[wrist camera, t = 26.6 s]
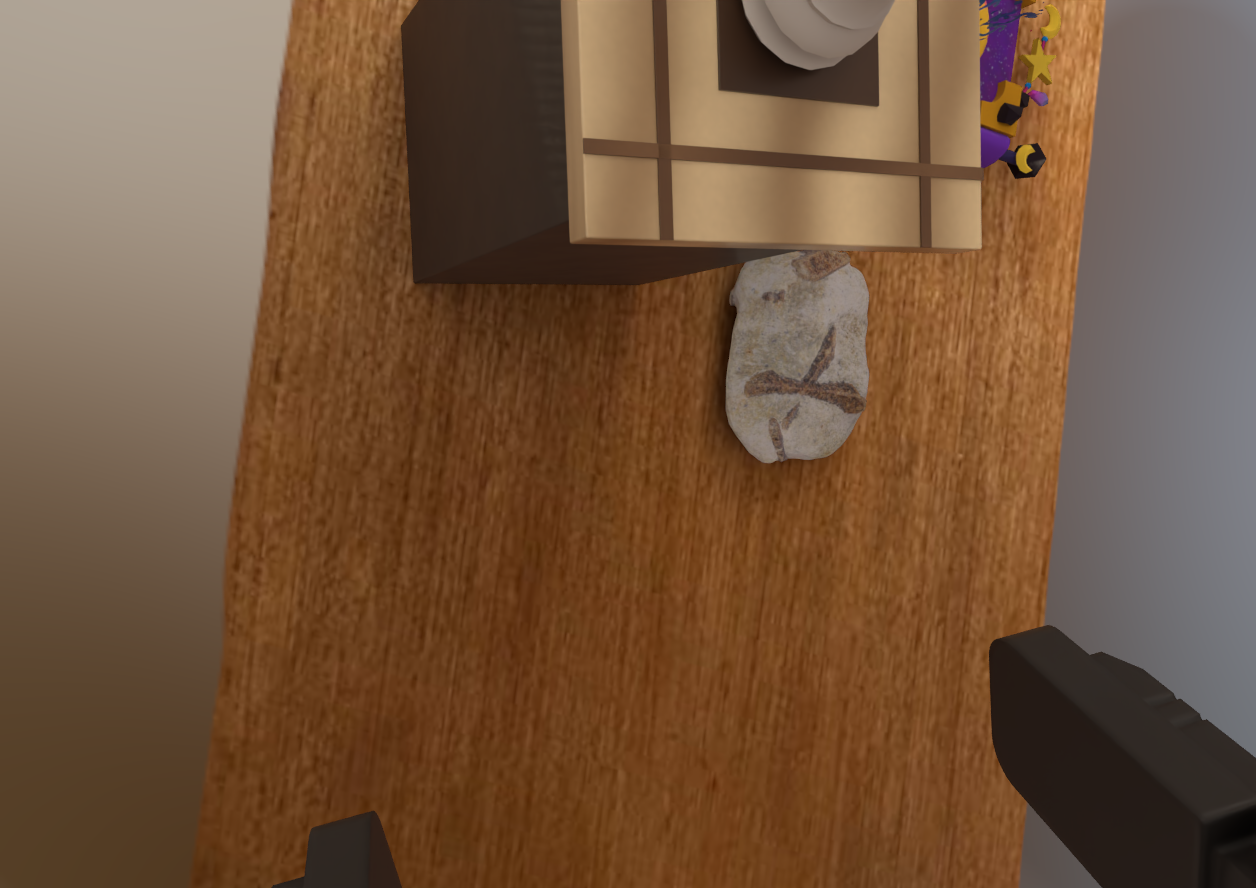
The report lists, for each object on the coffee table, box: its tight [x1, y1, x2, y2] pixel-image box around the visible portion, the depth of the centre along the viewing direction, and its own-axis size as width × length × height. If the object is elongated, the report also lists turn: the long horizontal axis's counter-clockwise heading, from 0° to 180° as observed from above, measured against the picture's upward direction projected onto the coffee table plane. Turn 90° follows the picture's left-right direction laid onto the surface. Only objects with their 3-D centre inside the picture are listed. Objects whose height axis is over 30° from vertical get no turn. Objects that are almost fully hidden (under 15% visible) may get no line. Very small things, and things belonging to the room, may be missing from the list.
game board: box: [561, 0, 984, 254], centre depth 30 cm, size 14×14×1 cm
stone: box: [726, 250, 869, 463], centre depth 56 cm, size 12×9×3 cm
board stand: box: [401, 0, 800, 285], centre depth 40 cm, size 12×12×22 cm
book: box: [979, 0, 1061, 179], centre depth 53 cm, size 15×25×12 cm, turn 81°
